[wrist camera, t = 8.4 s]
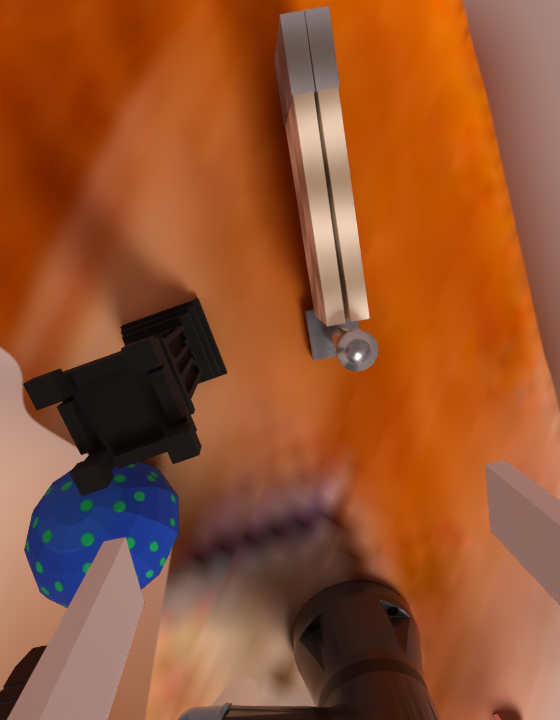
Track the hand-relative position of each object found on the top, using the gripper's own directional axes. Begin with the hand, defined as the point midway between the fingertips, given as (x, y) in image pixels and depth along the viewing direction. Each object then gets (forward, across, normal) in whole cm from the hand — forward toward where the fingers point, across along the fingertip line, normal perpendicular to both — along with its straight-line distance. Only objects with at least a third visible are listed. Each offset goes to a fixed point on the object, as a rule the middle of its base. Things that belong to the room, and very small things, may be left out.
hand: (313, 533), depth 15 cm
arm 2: (+27, -6, -15) cm, 32 cm away
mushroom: (+30, +18, +12) cm, 37 cm away
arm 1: (+27, -8, -15) cm, 32 cm away
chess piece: (+30, +9, -3) cm, 31 cm away
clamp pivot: (+29, -7, -2) cm, 30 cm away
